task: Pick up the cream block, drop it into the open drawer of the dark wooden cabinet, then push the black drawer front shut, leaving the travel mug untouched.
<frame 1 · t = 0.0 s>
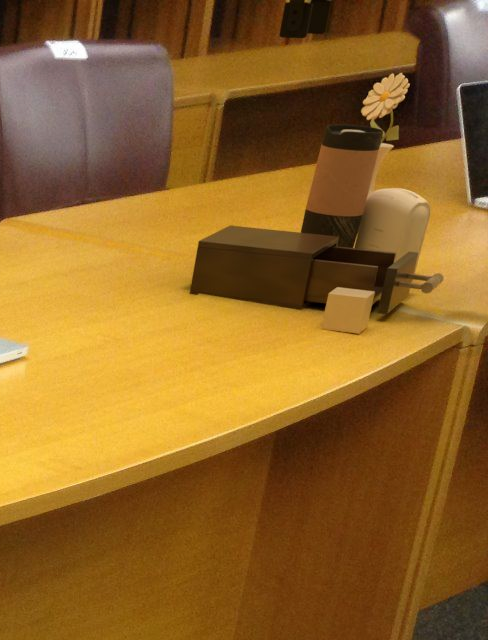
hand: (302, 35, 197), 33 cm above the table, tool pointing down, fingers open, 9 cm apart
drawer: (364, 278, 202), point 4 cm above the table, slide at 9.0 cm
photo printer: (379, 279, 221), on the table
travel mug: (318, 272, 224), on the table
block: (344, 328, 194), on the table
flower in vase: (355, 233, 253), on the table
cabinet: (258, 294, 211), on the table
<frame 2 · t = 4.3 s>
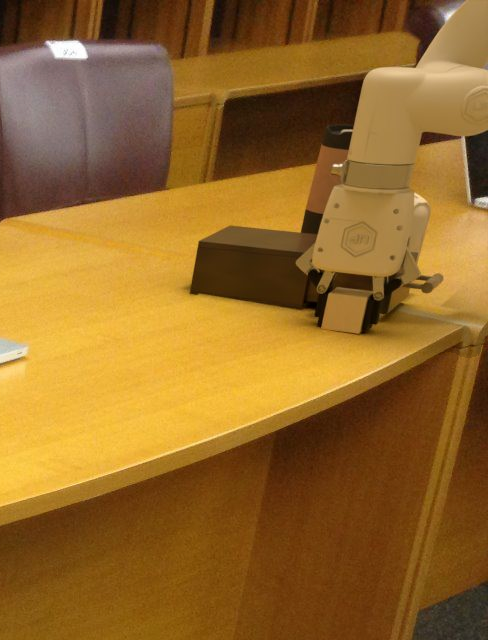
hand: (344, 325, 193), 0 cm above the table, tool pointing down, fingers closed on block, 4 cm apart
block: (344, 328, 194), on the table, touching gripper
everything else where it was.
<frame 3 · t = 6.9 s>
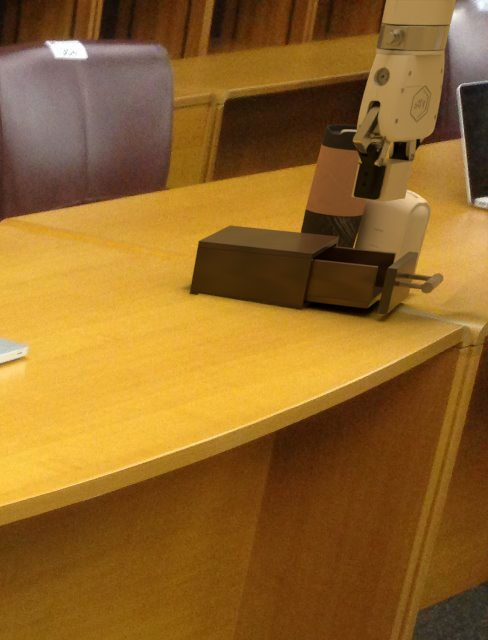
hand: (378, 194, 193), 15 cm above the table, tool pointing down, fingers closed on block, 4 cm apart
block: (378, 197, 193), point 15 cm above the table, touching gripper
everything else where it was.
when the fingers open (7 cm above the table, at t = 9.8 s): block drops 5 cm, resting on drawer.
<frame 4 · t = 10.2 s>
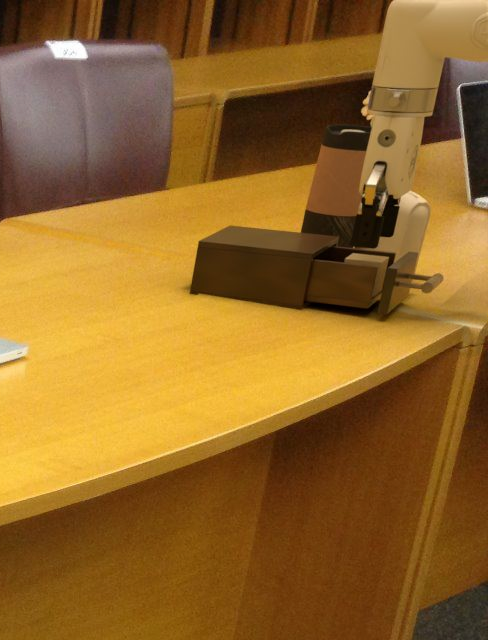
hand: (371, 241, 200), 9 cm above the table, tool pointing down, fingers open, 9 cm apart
drawer: (364, 278, 202), point 4 cm above the table, slide at 9.0 cm, touching block
block: (359, 292, 203), point 2 cm above the table, touching drawer
everything else where it was.
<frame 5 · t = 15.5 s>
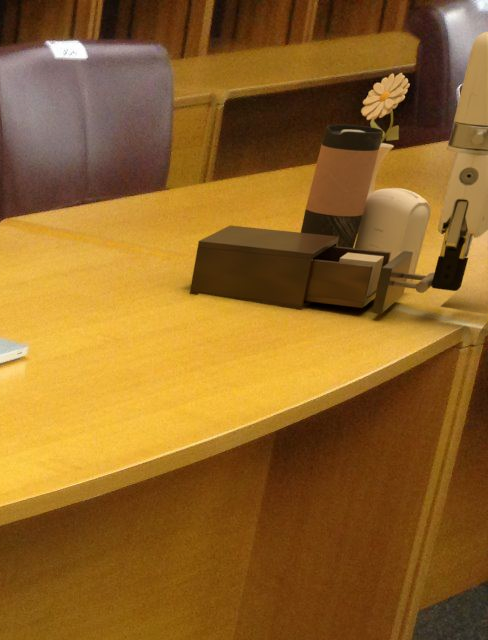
hand: (445, 288, 197), 4 cm above the table, tool pointing down, fingers closed
drawer: (359, 277, 203), point 4 cm above the table, slide at 8.4 cm, touching block, gripper
everything else where it was.
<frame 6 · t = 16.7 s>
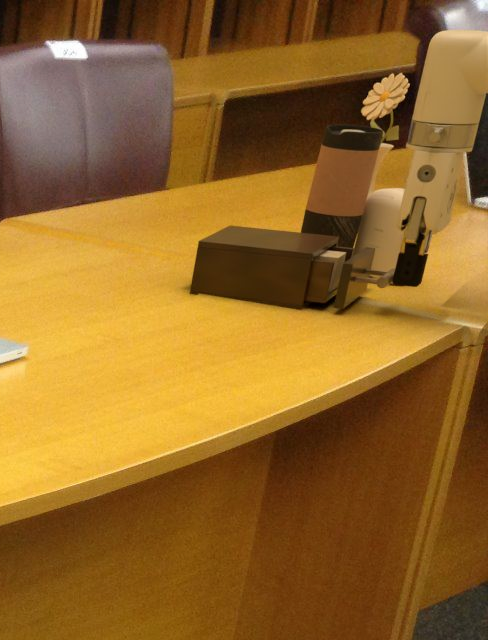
hand: (406, 284, 200), 4 cm above the table, tool pointing down, fingers closed
drawer: (322, 273, 205), point 4 cm above the table, slide at 3.7 cm, touching block, gripper
block: (317, 286, 206), point 2 cm above the table, touching drawer
everything else where it was.
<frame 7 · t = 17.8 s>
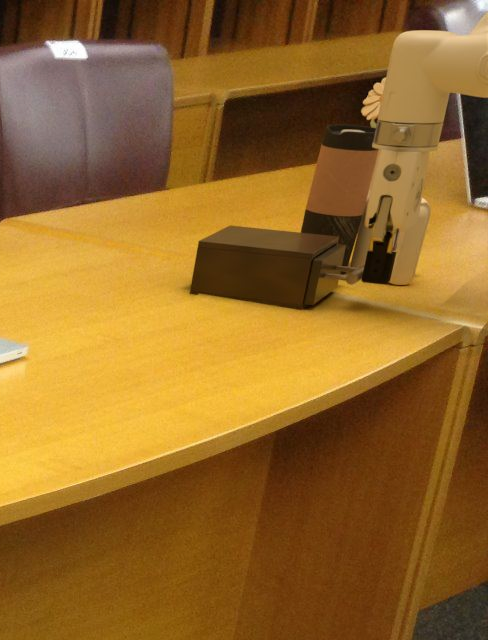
hand: (375, 282, 202), 4 cm above the table, tool pointing down, fingers closed
drawer: (293, 270, 207), point 4 cm above the table, slide at 0.0 cm, touching block, gripper
block: (288, 283, 208), point 2 cm above the table, touching drawer
everything else where it was.
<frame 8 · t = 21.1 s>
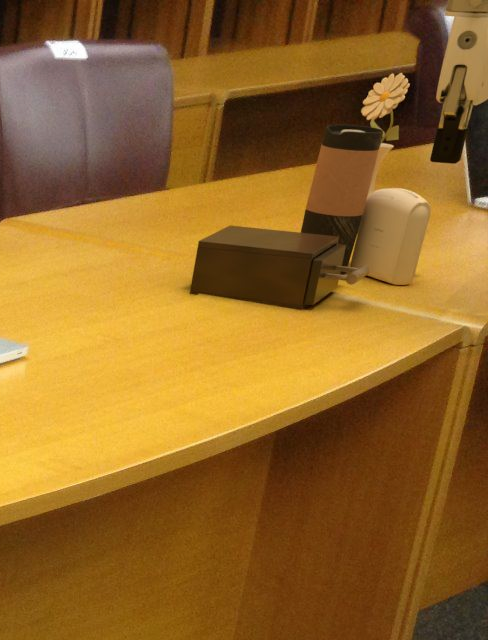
hand: (444, 161, 192), 19 cm above the table, tool pointing down, fingers closed
drawer: (293, 270, 207), point 4 cm above the table, slide at 0.0 cm, touching block, cabinet
everything else where it was.
at the end: drawer slide at 0.0 cm; block inside the target area in the cabinet (3.6 cm from its centre), point 2.0 cm above the cabinet's base; travel mug moved 0.1 cm from its start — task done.
